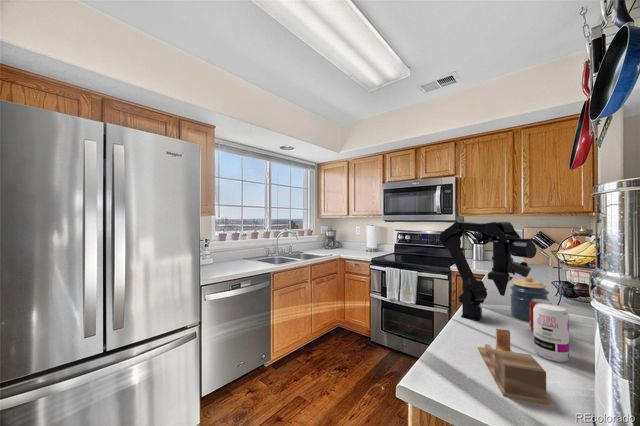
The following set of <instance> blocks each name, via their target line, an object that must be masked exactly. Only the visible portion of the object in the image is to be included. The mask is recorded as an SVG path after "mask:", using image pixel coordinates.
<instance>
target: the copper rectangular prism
mask: <svg viewBox="0 0 640 426" xmlns="http://www.w3.org/2000/svg"><path fill="white" fill-rule="evenodd" d="M495 349H496V350H501V351H509V352H510V349H511V331H510V330H507V329H501V328H500V329H499V328H495Z"/></svg>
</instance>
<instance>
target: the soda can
mask: <svg viewBox="0 0 640 426" xmlns="http://www.w3.org/2000/svg"><path fill="white" fill-rule="evenodd" d="M538 303H544V304H552V305H553V302H552V301H550V300H549V301H548V300H543V299H532V301H531V303H530V307H529V316H530V321H529V329H530V331H531V332H533V333H534V331H533V308H534V307H535V306H536V304H538Z"/></svg>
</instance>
